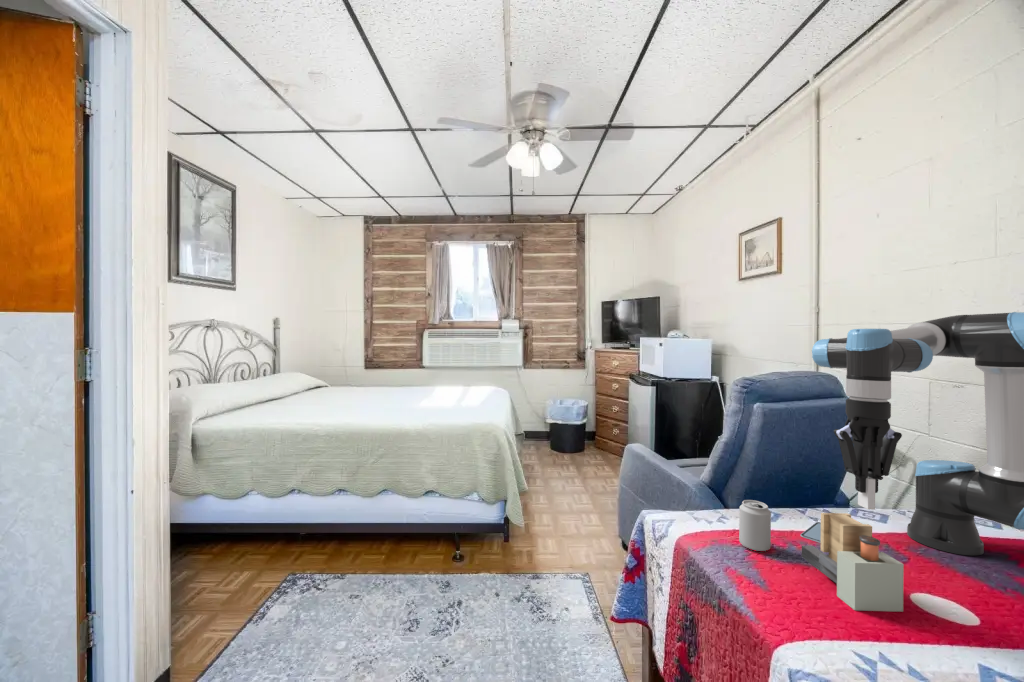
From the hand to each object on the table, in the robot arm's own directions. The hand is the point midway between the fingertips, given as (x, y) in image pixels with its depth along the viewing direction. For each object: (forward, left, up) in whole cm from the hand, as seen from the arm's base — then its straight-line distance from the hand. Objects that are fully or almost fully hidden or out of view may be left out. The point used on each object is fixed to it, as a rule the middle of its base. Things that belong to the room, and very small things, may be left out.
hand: (866, 506), depth 91 cm
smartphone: (-14, -33, -21) cm, 42 cm away
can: (+11, -24, -21) cm, 34 cm away
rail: (0, -10, -21) cm, 23 cm away
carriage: (0, -6, -21) cm, 22 cm away
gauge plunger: (0, +1, -11) cm, 11 cm away
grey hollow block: (0, +1, -21) cm, 21 cm away
